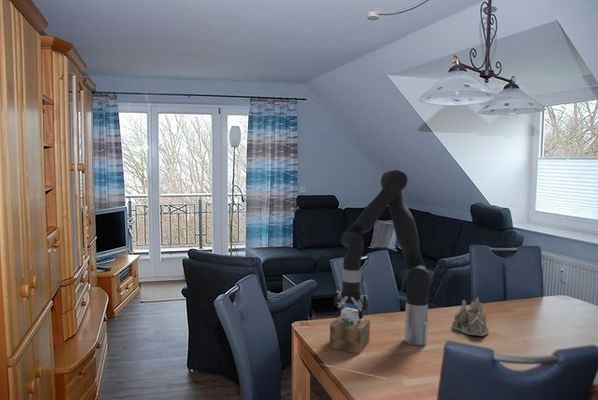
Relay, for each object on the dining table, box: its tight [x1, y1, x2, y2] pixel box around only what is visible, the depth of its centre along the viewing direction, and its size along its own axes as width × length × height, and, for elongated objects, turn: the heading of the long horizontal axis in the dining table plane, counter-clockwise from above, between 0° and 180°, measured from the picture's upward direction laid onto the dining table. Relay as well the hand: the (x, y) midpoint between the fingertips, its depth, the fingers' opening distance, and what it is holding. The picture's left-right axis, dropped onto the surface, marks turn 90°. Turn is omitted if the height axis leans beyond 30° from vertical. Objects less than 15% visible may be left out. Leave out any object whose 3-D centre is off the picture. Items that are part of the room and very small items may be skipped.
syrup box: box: [341, 307, 359, 326], centre depth 189 cm, size 6×6×14 cm
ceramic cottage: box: [451, 297, 490, 337], centre depth 208 cm, size 16×16×15 cm
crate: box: [329, 316, 371, 355], centre depth 189 cm, size 13×13×10 cm
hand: (350, 317), depth 189 cm, fingers open, 8 cm apart
